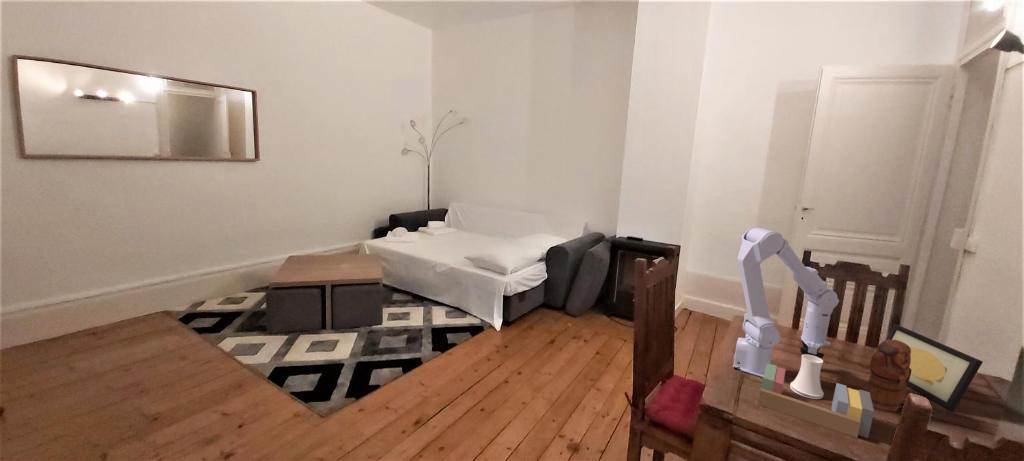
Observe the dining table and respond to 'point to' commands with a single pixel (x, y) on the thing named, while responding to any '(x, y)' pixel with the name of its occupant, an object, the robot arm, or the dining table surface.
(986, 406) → the dining table surface
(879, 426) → the dining table surface
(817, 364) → the vase
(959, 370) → the picture frame
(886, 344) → the wooden figurine
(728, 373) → the dining table surface
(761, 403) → the book row
